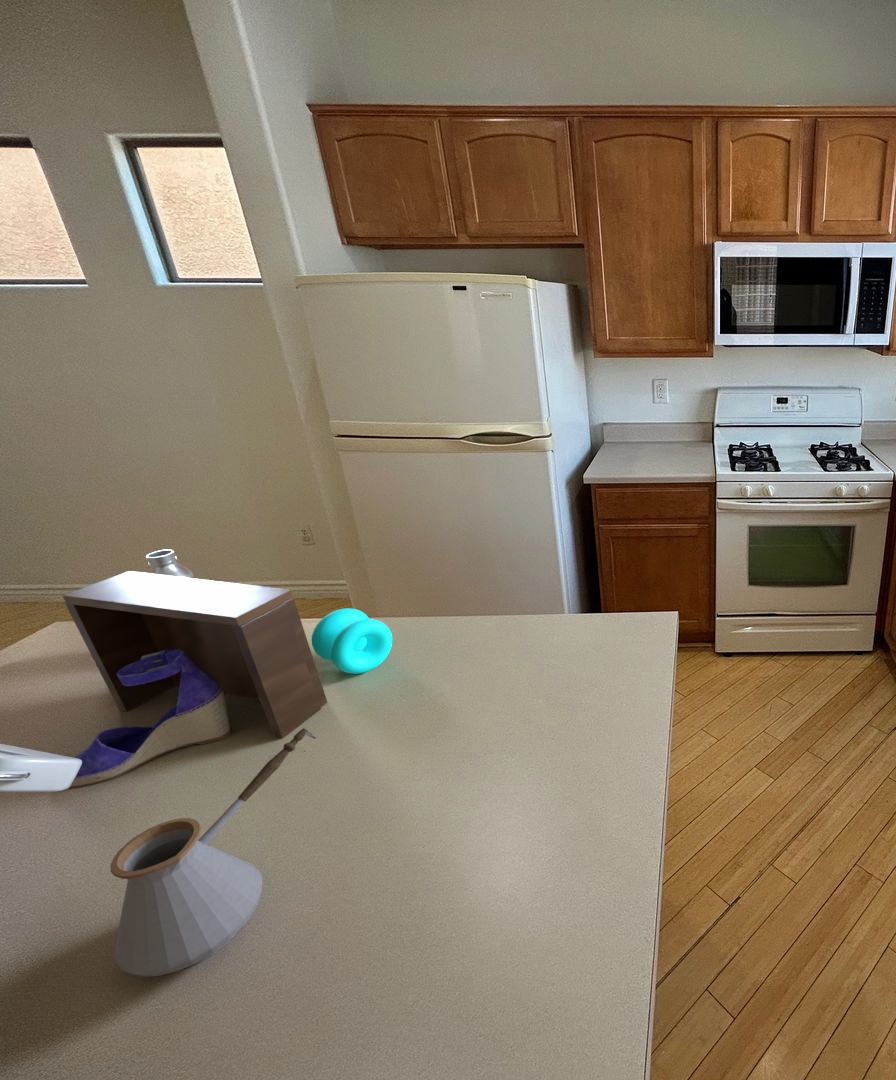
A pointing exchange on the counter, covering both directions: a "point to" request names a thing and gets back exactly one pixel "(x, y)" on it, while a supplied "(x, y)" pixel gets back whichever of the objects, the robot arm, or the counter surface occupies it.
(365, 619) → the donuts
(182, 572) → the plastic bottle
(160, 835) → the coffee pot
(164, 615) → the shoe rack
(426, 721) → the counter surface
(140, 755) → the sandal
